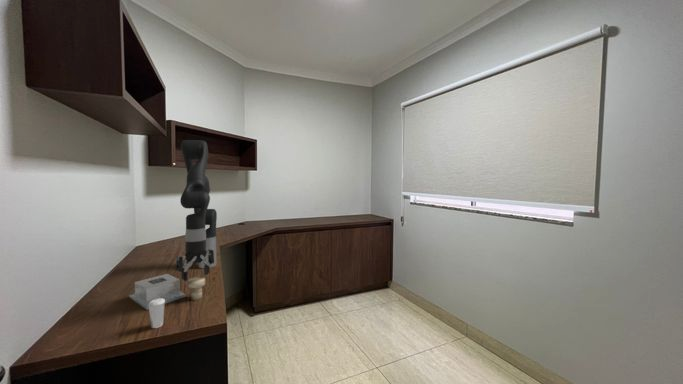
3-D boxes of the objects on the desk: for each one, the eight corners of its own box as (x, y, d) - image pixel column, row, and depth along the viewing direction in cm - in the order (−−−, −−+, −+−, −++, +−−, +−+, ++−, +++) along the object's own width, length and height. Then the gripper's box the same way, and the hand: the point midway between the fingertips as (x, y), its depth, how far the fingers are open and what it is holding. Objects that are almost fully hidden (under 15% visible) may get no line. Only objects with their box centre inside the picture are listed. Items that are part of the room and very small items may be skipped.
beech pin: (184, 298, 106) (184, 280, 106) (200, 293, 112) (200, 275, 111) (192, 303, 103) (192, 283, 102) (208, 297, 108) (208, 278, 108)
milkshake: (166, 319, 90) (166, 292, 90) (164, 327, 85) (163, 298, 85) (150, 323, 88) (150, 294, 88) (147, 331, 83) (147, 301, 83)
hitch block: (129, 297, 107) (129, 281, 106) (167, 286, 118) (166, 271, 118) (146, 310, 97) (146, 291, 96) (185, 296, 108) (185, 280, 108)
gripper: (208, 235, 114) (208, 270, 115) (172, 240, 102) (173, 280, 103) (217, 237, 110) (217, 274, 110) (181, 243, 98) (182, 284, 99)
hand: (196, 277), depth 107 cm, fingers open, 8 cm apart
